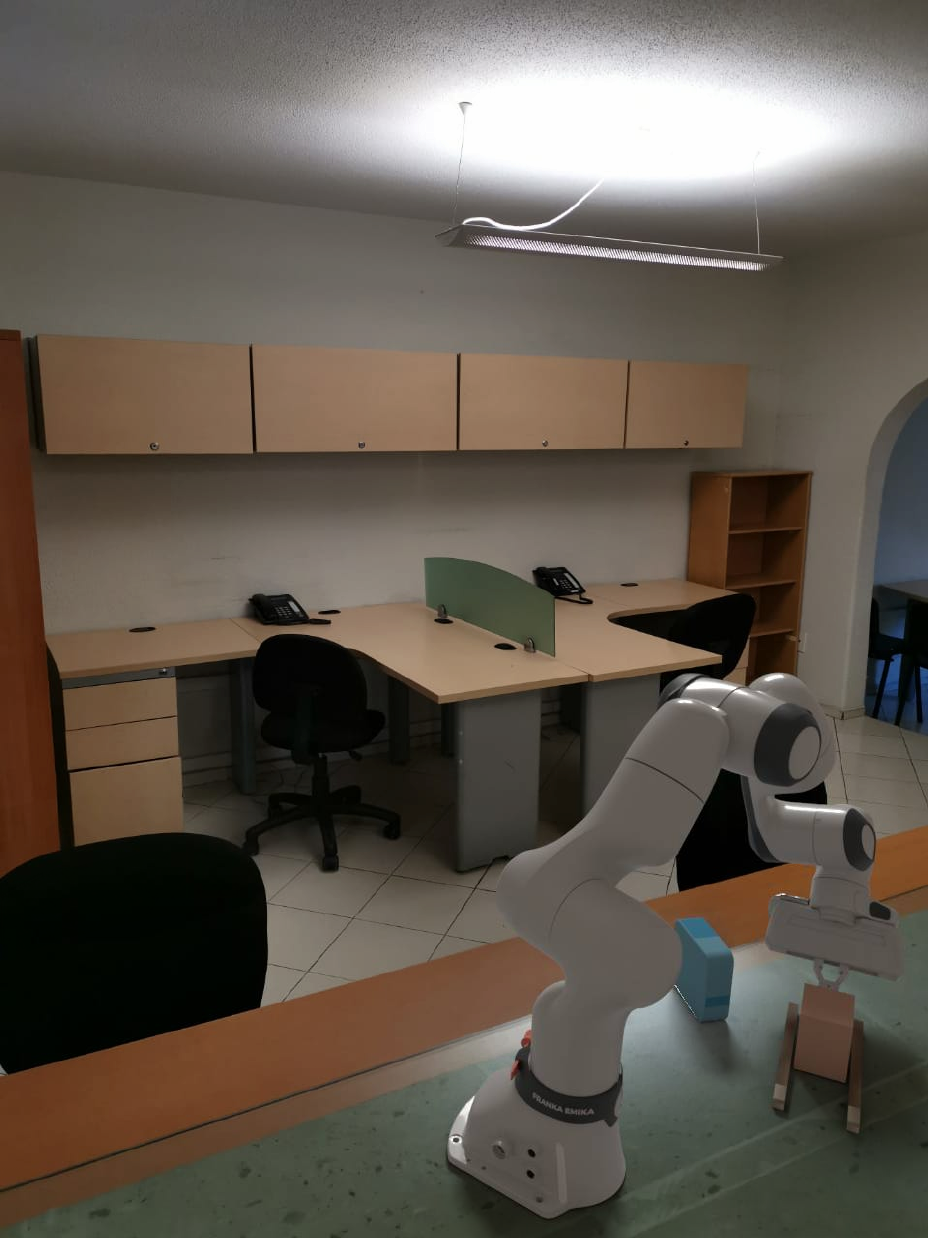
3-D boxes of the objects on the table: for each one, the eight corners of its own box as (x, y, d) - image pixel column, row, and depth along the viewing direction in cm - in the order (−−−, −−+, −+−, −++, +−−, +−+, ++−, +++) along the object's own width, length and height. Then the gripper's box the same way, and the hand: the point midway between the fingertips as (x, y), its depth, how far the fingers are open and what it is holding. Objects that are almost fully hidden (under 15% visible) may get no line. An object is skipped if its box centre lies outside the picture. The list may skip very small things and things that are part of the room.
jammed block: (793, 1068, 135) (800, 1014, 133) (798, 1035, 142) (804, 983, 140) (845, 1083, 132) (853, 1028, 130) (847, 1048, 139) (854, 995, 137)
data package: (728, 1023, 145) (735, 955, 142) (701, 1027, 144) (708, 958, 141) (694, 977, 156) (700, 913, 153) (668, 980, 155) (674, 915, 152)
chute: (772, 1107, 128) (773, 1097, 127) (787, 1010, 148) (788, 1002, 148) (858, 1133, 124) (859, 1124, 123) (862, 1030, 144) (863, 1021, 144)
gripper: (770, 884, 151) (757, 970, 144) (909, 915, 143) (902, 1008, 136) (770, 896, 156) (757, 980, 149) (905, 927, 148) (897, 1016, 141)
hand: (827, 993), depth 143 cm, fingers closed
